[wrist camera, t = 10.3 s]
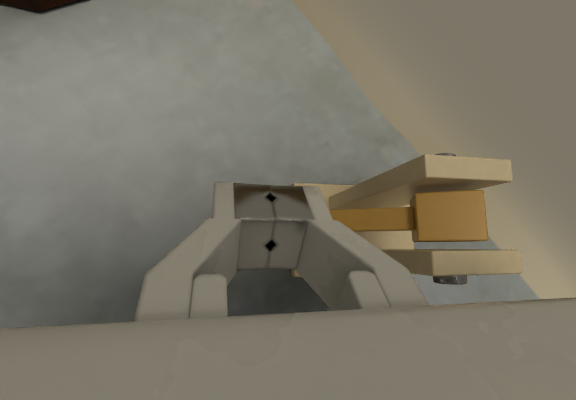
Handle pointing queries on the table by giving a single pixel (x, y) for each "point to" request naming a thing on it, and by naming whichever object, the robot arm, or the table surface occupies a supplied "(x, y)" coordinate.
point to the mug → (36, 4)
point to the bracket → (397, 193)
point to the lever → (426, 217)
